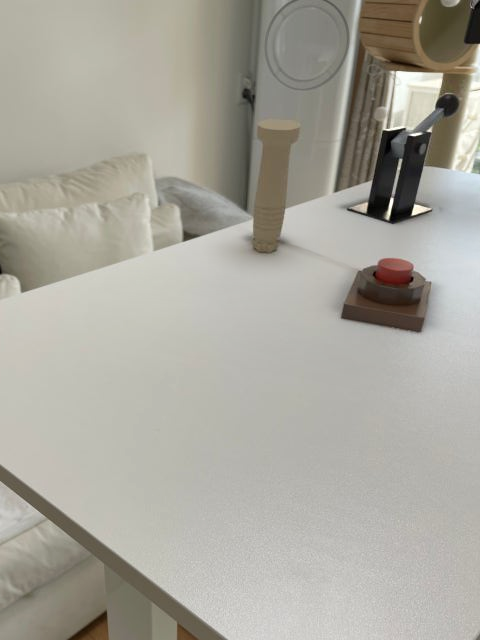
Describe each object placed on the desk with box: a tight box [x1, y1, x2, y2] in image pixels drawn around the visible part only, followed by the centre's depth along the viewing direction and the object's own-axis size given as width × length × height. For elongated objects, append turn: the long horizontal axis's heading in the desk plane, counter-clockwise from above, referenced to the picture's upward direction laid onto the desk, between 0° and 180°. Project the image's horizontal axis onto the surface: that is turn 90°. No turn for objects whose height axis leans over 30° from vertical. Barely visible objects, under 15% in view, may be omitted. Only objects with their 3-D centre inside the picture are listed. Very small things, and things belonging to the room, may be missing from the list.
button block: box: [340, 264, 432, 333], centre depth 69 cm, size 10×8×4 cm
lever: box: [391, 92, 460, 160], centre depth 92 cm, size 13×3×3 cm, turn 128°
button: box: [375, 257, 415, 285], centre depth 68 cm, size 4×4×2 cm
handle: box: [252, 118, 301, 254], centre depth 80 cm, size 5×6×15 cm
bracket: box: [346, 126, 433, 225], centre depth 93 cm, size 10×8×12 cm
